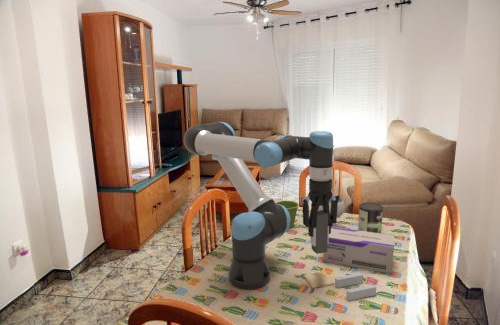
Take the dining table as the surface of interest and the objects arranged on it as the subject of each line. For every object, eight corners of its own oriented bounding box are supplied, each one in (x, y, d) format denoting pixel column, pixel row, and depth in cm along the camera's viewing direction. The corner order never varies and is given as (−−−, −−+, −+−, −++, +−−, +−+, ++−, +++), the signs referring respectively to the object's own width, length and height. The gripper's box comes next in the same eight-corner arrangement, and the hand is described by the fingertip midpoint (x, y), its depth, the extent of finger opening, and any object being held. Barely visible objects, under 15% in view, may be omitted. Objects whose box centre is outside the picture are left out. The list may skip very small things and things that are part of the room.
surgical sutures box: (392, 260, 131) (394, 235, 129) (391, 274, 122) (393, 247, 119) (328, 249, 141) (329, 226, 139) (323, 261, 132) (323, 236, 129)
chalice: (332, 221, 170) (333, 193, 167) (350, 231, 158) (351, 201, 155) (309, 225, 166) (309, 197, 162) (325, 237, 153) (325, 206, 150)
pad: (312, 288, 114) (312, 287, 114) (303, 276, 121) (303, 274, 121) (334, 284, 116) (334, 283, 116) (323, 272, 123) (323, 271, 123)
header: (348, 300, 107) (349, 292, 106) (334, 285, 115) (335, 277, 115) (376, 295, 109) (376, 287, 109) (360, 280, 118) (360, 272, 117)
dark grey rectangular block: (316, 253, 114) (317, 215, 111) (311, 248, 117) (312, 211, 114) (327, 252, 115) (328, 213, 112) (321, 247, 118) (322, 209, 115)
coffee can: (384, 233, 155) (386, 205, 152) (377, 242, 147) (379, 211, 144) (362, 228, 161) (363, 200, 158) (354, 236, 153) (355, 207, 150)
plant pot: (300, 230, 161) (300, 208, 158) (275, 230, 161) (275, 208, 159) (297, 220, 172) (297, 200, 170) (274, 221, 173) (274, 200, 170)
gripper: (301, 183, 105) (300, 252, 110) (349, 178, 109) (347, 244, 114) (292, 178, 112) (292, 242, 117) (338, 173, 116) (336, 235, 121)
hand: (319, 243), depth 116 cm, fingers closed on dark grey rectangular block, 4 cm apart
